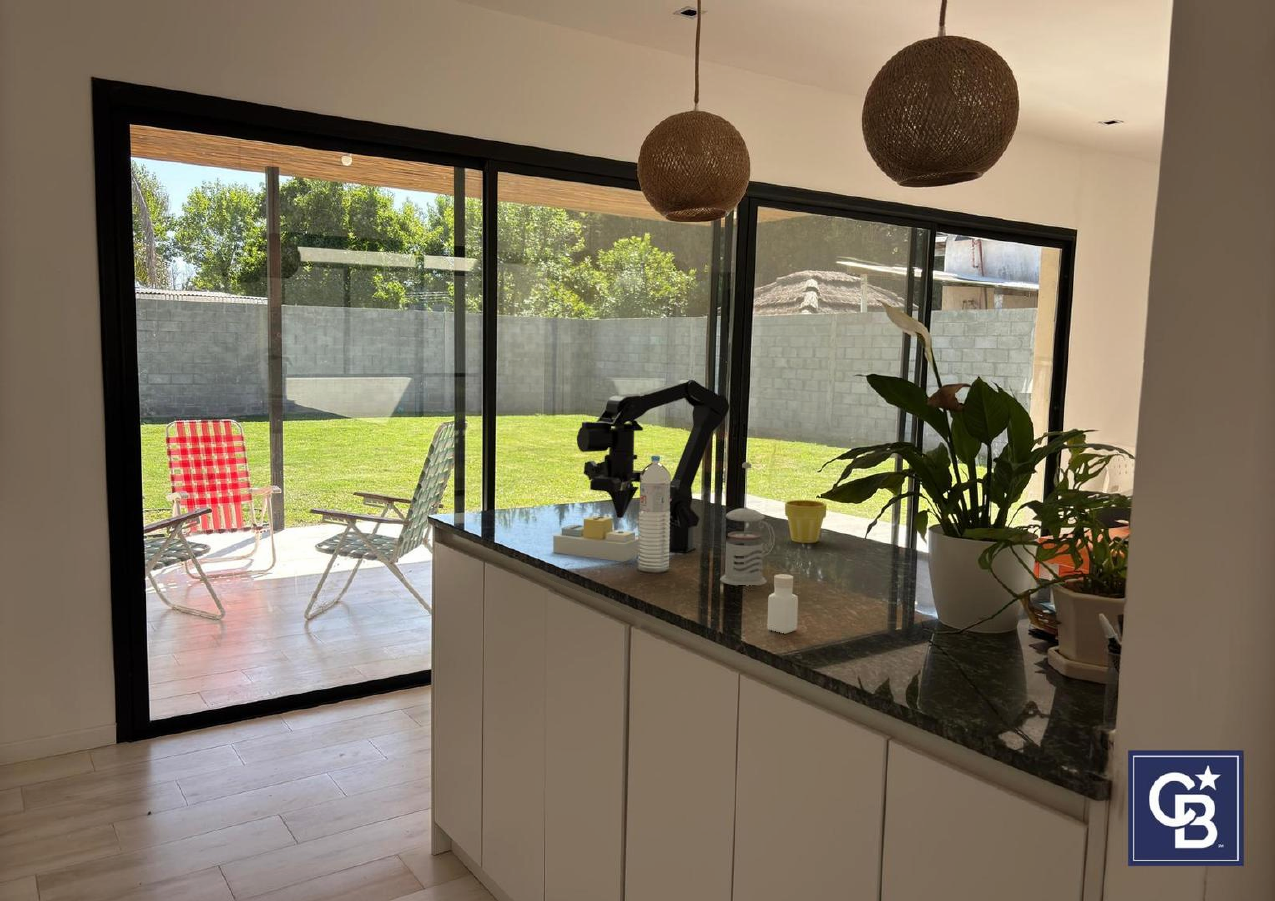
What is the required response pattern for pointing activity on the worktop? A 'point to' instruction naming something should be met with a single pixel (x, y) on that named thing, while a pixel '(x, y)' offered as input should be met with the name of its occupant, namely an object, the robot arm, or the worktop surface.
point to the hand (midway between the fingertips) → (620, 517)
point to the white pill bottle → (782, 605)
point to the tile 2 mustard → (597, 527)
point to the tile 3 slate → (573, 530)
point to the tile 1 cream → (620, 536)
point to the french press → (745, 548)
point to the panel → (595, 547)
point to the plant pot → (805, 519)
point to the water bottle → (654, 518)
